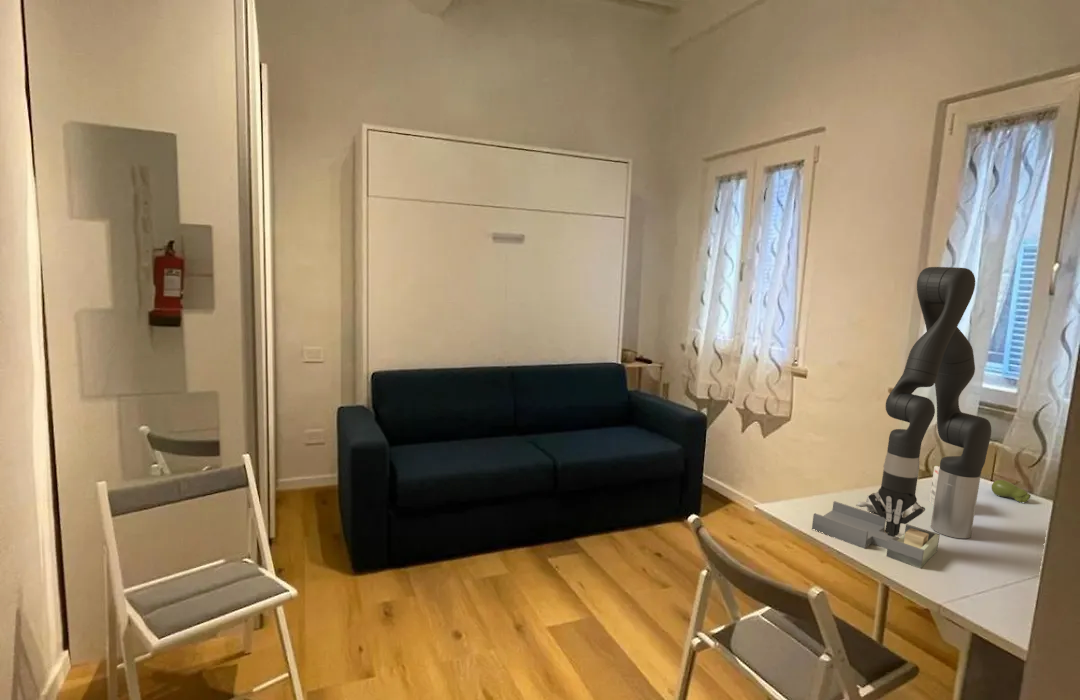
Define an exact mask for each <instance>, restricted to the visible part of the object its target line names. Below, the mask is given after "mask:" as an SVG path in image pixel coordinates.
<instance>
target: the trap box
mask: <svg viewBox="0 0 1080 700" xmlns="http://www.w3.org/2000/svg"><path fill="white" fill-rule="evenodd" d="M832 502H833V503H832V509H831V510H830V511H829V512H827V513H825V514H824V515H822V514H819V513H816V512H815V513H813V517H812V525H811V530H812V529H815V530H817V531H820V532H823V533H825V534H824V535H826V534H827V536H828V535H830V536H829V537H831V536H832V538H834V537H835V539H837V540H840V541H842V540H843V542H844V543H845V542H846V543H848V544H851V545H854V546H856V547H860V548H863V549H866V548H867V547H869V546H870V545H871V544H872V545H874V546H877V547H881V548H883V549H886V555H885V556H886V557H888V558H891V559H893V560H896V561H899V562H901V563H904V564H907V565H909V566H913V567H915V568H919V569H922V568H923V567H924V565H925V564H926V563H927V562H928V561H929V560H930V559H931V558H932V557H933V556H934V555H935V554H936V553H937V552H938V549H939V542H940V535H941V533H938V532H937V533H936V532H935V531H934V532H933V531H930V530H927V529H924V528H921V527H919V526H914V525H911V524H908V523H907V524H905V529H904V533H903V534H902V535H901V536H900V537H899V536H895V537H892V536H889V535H888V533H887V532H885V529H886V522H887V521H886V519H885V518H884V517H880V516H879V514H877V513H870V511H868V510H864V509H862V508H861V509H860V508H858V507H854V506H851V505H848V504H844V503H841V502H838V501H835V500H834V501H832ZM910 528H912V529H915V530H919V531H922V532H925V533H928V534H929V536H928V542H927V543H926V544H925V545H924V546H923V547H922V548H921V549H920V548H917V547H914V546H911V545H908V544H905V543H904V539H905V532H906V531H908V530H909V529H910ZM817 531H816V532H817ZM820 532H819V533H820ZM823 533H822V534H823Z"/></svg>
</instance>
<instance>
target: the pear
mask: <svg viewBox="0 0 1080 700" xmlns="http://www.w3.org/2000/svg"><path fill="white" fill-rule="evenodd" d="M991 491H992V493H993V494H994V495H996V496H997V497H1000V496H1001V497H1002V498H1004V497H1005V498H1012V499H1014V501H1016V502H1018V501H1019V502H1018V503H1020V502H1026V503H1027V502H1028V501H1029V500H1030V499H1031V498H1032V495H1031V493H1028V491H1027V490H1025V489H1024V488H1021V487H1018V486H1017V485H1015V484H1013V483H1012V482H1010V481H1007V480H1005V479H997V480H995V481H994V482H993V483H992V484H991Z"/></svg>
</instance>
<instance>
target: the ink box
mask: <svg viewBox="0 0 1080 700" xmlns="http://www.w3.org/2000/svg"><path fill="white" fill-rule="evenodd" d="M933 466H934V465H933ZM939 468H940V465H939V466H938V465H935V466H934V467H933V473H932V481H931V490H930V495H929V502H930V504H932V505H933V506H934V501H935V494H936V488H937V481H938V474H939Z"/></svg>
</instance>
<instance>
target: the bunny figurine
mask: <svg viewBox="0 0 1080 700" xmlns="http://www.w3.org/2000/svg"><path fill="white" fill-rule="evenodd" d="M869 495H870V494H868V495H867V497H866V501H858V502H857V503H856V507H861V508H866V509H867V510H866V511H867V512H871V513H874V514H877V515H879V514H878V512H877V511H876V509H875V507H874V506H873V504H872V502H871V501H870V499H869ZM880 498H881V497H880ZM880 501H881V503H882V505H883V506H884V508H885V510H886V505H885V504H884V502H883V501H882V499H881V500H880Z"/></svg>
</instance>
